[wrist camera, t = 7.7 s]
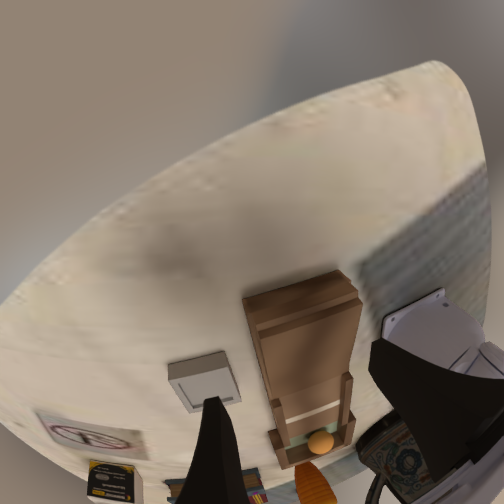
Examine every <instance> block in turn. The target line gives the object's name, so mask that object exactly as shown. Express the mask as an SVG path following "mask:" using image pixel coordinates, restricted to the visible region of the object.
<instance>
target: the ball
mask: <svg viewBox="0 0 504 504" xmlns="http://www.w3.org/2000/svg"><path fill="white" fill-rule="evenodd" d="M333 444H334V438H333V436H332V435H331V434H330V433H329V432H327V431H318V432H315V433H314V434H312V435H311V436H310V438H309V440H308V447H309V449H310V450H311V451H312V452H313V453H316V454H324V453H326V452H328V451H329V450H331V448H332V447H333Z"/></svg>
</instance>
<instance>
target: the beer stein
mask: <svg viewBox="0 0 504 504" xmlns="http://www.w3.org/2000/svg"><path fill="white" fill-rule="evenodd" d="M356 449H357V452H358V457H359V460H360V462H361V463H362V464H364V465H366V466H367V467H369V468H370V469H371V470H372V471H373V472H374V473H375V474H376V476H375V478H374V480H373V482H372V484H371V487H370V489H369V492H368V494H367V497H366V501H365V504H379V498H380V495H381V492H382V488H383V486H384V485H386V486H387V487H388V488H389V490H390V491H391V492H392V493H393V494H394V496H395V497H396V498H397V499H398V500H399V501H400V502H401V504H411V503H413V502H415V501H416V500H418V499H419V498H421V497H422V496H424V495H425V494H427V493H428V492H429V491H431V490H432V489H434V488H435V487H436V486H438V485H439V484H440V483H442V482H443V481H444V480H446V479H447V478H448V477H450V476H451V475H452V474H453V473H455V472H456V471H457V469H456V468H455V469H453V470H452V471H451V472H450V473H448V474H447V475H446V476H445V477H443V478H442V479H441V480H439V481H438V482H437V483H434V482H433V480H432V479H431V476H430V473H429V471H428V468H427V465H426V463H425V460H424V458H423V456H422V454H421V452H420V449H419V447H418V445H417V443H416V441H415V440H414V438H413V436H412V434H411V432H410V430H409V429H408V427H407V425H406V424H405V422H404V421H403V419H402V418H401V416H400V415H399V414H398V412H397V411H396V410H394V411H392V412H390V413H389V414H387V415H386V416H384V417H383V418H382V419H381V420H379V421H378V422H377V423H375V424H374V425H373V426H372V427H371V428H370V429H369V430H368V431H366V432H365V433H364V434H363V435H362V436H361V438H360V439H359V441H358V442H357V444H356ZM452 488H453V487H452ZM452 488H451V489H450V490H448V491H447V492H446V493H445V494H443V495H442V496H441V497H439V498H438V499H437V500H435V501H434V502H432V503H431V504H435V503H437V502H438V501H439V500H441V499H442V498H444V497H445V496H447V495H448V494H450V493H451V492H452Z"/></svg>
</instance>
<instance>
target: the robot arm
mask: <svg viewBox="0 0 504 504" xmlns="http://www.w3.org/2000/svg"><path fill="white" fill-rule="evenodd" d="M444 295H445V289H443V288H441V289H439V290H437V291H436V292H434V293H432V294H430V295H428V296H426V297H424V298H423V299H421V300H419V301H417V302H415V303H413V304H411V305H409V306H407V307H405V308H403V309H401V310H399V311H397V312H395V313H393V314H391V315H388V316H387V317H386V318H385V319H384V322H383V331H382V338H380V339H378V340H376V341H374V342H372V345H371V353H370V361H369V368H368V371H369V373H370V375H371V376H372V378H373V380H374V382H375V383H376V385H377V387H378V388H379V389H380V391H381V392H382V393H383V394H384V396H385V397H386V398H387V400H388V401H389V402H390V403H391V405H392V406H393V407H394V409H395V410H396V411H397V412H398V414H399V415H400V416H401V418H402V419H403V421H404V422H405V424H406V425H407V427H408V429H409V430H410V432H411V434H412V436H413V438H414V440H415V441H416V443H417V445H418V447H419V449H420V452H421V454H422V456H423V458H424V460H425V463H426V465H427V468H428V471H429V473H430V476H431V479H432V480H433V482H434V483H437V482H438V481H439V480H441V479H442V478H443V477H445V476H446V475H447V474H448V473H450V472H451V471H452V470H453V469H455V468H456V469H457V471H456V472H455V473H453V474H452V475H451V476H450V477H448V478H447V479H446V480H444V481H443V482H442V483H440V484H439V485H438V486H436V487H435V488H434V489H432V490H431V491H429V492H428V493H427V494H425V495H424V496H422V497H421V498H419V499H418V500H416V501H415V502H413V503H411V504H431V503H432V502H434V501H435V500H437V499H438V498H439V497H441V496H442V495H443V494H445V493H446V492H447V491H448V490H450V489H451V488H452V487H453V488H452V492H451V493H450V494H448V495H447V496H445V497H444V498H442V499H441V500H439V501H438V502H437V503H435V504H490V503H491V502H492V501H493V500H494V499H495V498H496V497H497V495H498V494H499V493H500V492H501V490H502V489H503V488H504V351H503V350H502V349H500V348H499V347H498V346H496V345H495V344H493V343H491V342H486V343H485V335H484V331H483V329H482V327H481V325H480V324H479V322H478V321H477V320H476V319H475V318H474V317H472V316H471V315H470V314H468V313H467V312H466V311H464V310H463V309H462V308H460V307H459V306H458V305H456V304H455V303H453V302H452V301H451V300H449V299H448V298H446V297H445V296H444ZM174 504H250V501H249V498H248V494H247V491H246V488H245V484H244V480H243V475H242V470H241V464H240V458H239V452H238V446H237V440H236V436H235V432H234V429H233V425H232V422H231V419H230V417H229V415H228V413H227V411H226V409H225V407H224V405H223V403H222V401H221V399H220V397H219V396H216V397H211V398H207V399H205V400H204V402H203V413H202V420H201V426H200V431H199V436H198V441H197V445H196V449H195V452H194V456H193V460H192V463H191V466H190V469H189V472H188V474H187V477H186V480H185V482H184V484H183V487H182V489H181V491H180V493H179V495H178V497H177V499H176V501H175V503H174Z"/></svg>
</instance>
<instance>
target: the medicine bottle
mask: <svg viewBox="0 0 504 504" xmlns="http://www.w3.org/2000/svg"><path fill="white" fill-rule="evenodd" d="M87 497H88V498H89V499H90V500H91V501H93V502H94V503H95V504H144V499H143V481H142V479H141V478H140V476H139V474H138V472H137V471H136V469H135V467H134V466H128V465H120V464H113V463H106V462H100V461H95V460H91V461H90V466H89V476H88V488H87Z"/></svg>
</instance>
